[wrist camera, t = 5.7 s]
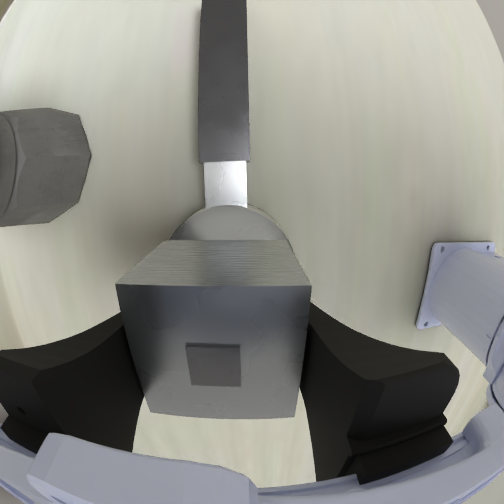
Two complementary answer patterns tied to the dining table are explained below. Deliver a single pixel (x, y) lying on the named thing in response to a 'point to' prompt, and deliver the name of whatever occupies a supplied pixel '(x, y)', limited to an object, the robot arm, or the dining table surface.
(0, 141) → the coffeepot
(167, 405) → the grey cube
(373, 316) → the dining table surface
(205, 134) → the ratchet
